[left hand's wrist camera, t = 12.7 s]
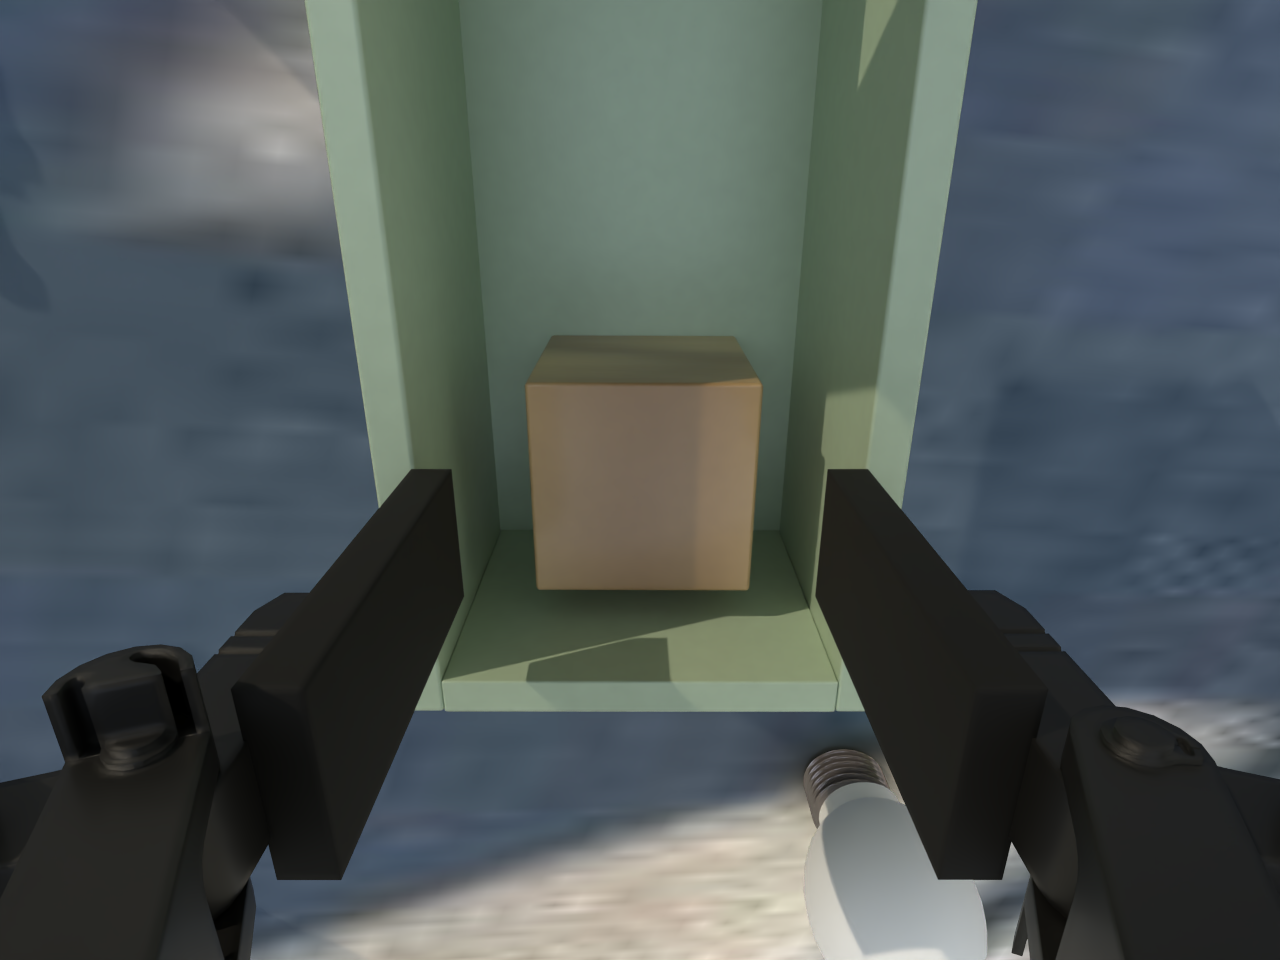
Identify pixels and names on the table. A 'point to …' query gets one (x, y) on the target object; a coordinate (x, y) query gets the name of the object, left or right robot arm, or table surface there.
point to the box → (640, 291)
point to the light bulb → (879, 874)
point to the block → (643, 462)
